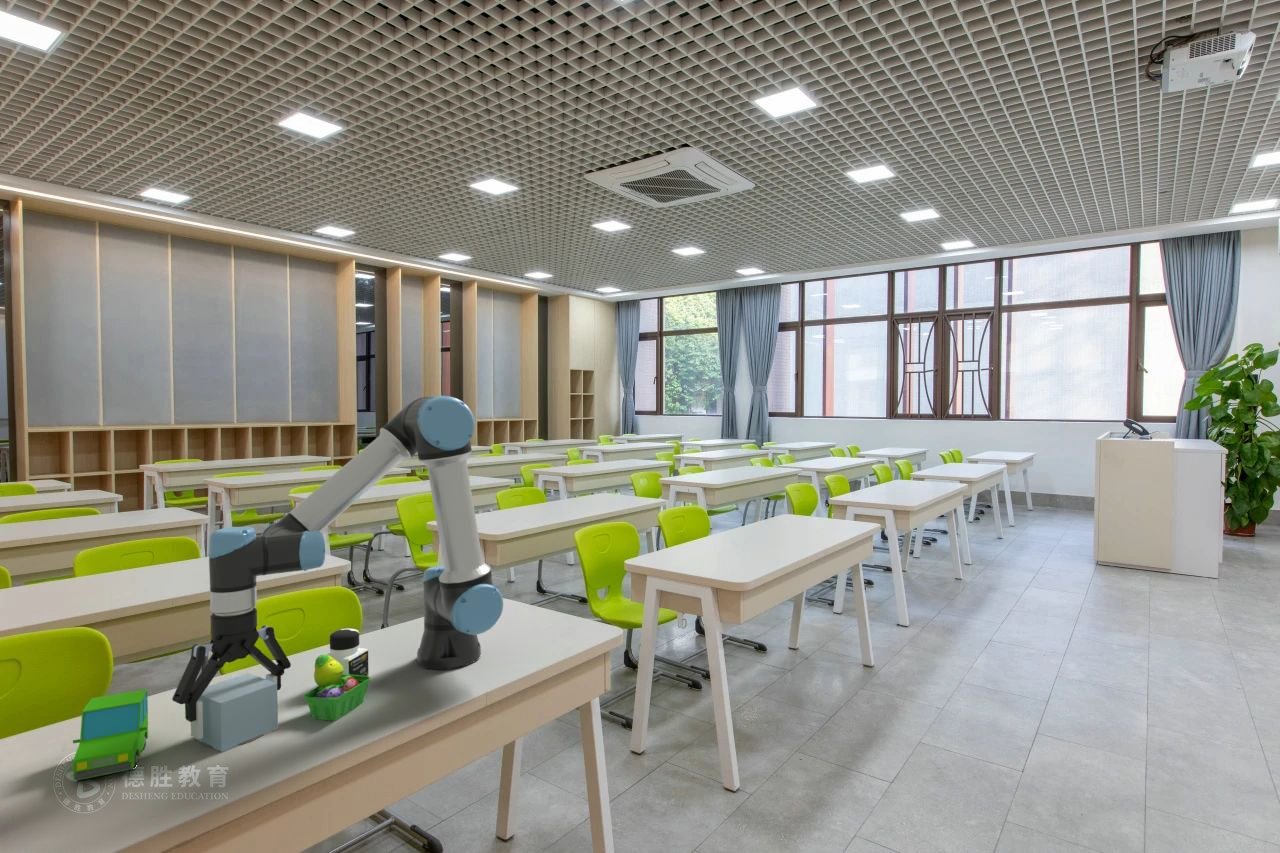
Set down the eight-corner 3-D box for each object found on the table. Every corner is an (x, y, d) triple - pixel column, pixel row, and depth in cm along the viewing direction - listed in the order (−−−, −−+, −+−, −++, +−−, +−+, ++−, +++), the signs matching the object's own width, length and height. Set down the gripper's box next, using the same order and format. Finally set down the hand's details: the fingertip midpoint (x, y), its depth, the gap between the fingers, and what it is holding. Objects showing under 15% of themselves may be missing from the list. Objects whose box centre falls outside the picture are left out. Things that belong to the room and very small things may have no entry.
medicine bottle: (349, 692, 145) (348, 637, 145) (320, 689, 146) (319, 635, 146) (369, 679, 152) (368, 627, 152) (341, 677, 153) (340, 625, 153)
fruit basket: (335, 725, 130) (334, 667, 129) (297, 720, 132) (296, 663, 131) (372, 700, 141) (371, 647, 140) (336, 696, 143) (335, 644, 143)
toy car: (63, 792, 107) (61, 730, 107) (85, 755, 119) (83, 699, 119) (141, 775, 112) (140, 716, 112) (155, 741, 124) (154, 688, 124)
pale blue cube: (277, 728, 128) (277, 683, 128) (221, 752, 119) (220, 703, 119) (249, 716, 133) (248, 673, 133) (193, 738, 125) (192, 691, 124)
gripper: (287, 592, 138) (288, 693, 139) (148, 625, 117) (151, 744, 117) (308, 597, 134) (310, 701, 135) (169, 632, 113) (171, 755, 114)
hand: (236, 722), depth 126 cm, fingers open, 13 cm apart
